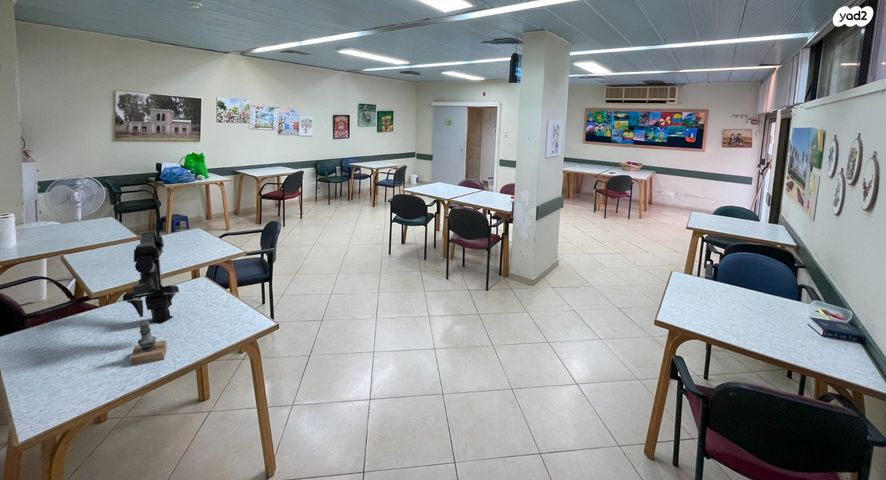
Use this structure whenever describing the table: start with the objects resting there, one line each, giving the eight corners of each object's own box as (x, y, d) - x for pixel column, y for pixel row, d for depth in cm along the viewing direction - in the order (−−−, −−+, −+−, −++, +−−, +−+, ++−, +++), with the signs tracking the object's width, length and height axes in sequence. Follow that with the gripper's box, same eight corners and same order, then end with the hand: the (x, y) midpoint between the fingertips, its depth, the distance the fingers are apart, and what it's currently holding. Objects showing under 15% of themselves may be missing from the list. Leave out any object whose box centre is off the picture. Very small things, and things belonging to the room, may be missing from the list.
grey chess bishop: (143, 354, 162) (137, 324, 159) (136, 349, 165) (130, 320, 162) (160, 348, 166) (155, 318, 163) (153, 343, 170) (148, 314, 167)
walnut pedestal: (136, 352, 169) (135, 345, 168) (166, 347, 173) (165, 340, 172) (131, 365, 160) (130, 358, 159) (163, 359, 164) (162, 352, 163)
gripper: (111, 279, 168) (115, 320, 167) (162, 270, 170) (167, 310, 169) (129, 280, 179) (134, 319, 178) (177, 272, 181) (182, 309, 180)
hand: (153, 314), depth 176 cm, fingers open, 9 cm apart
